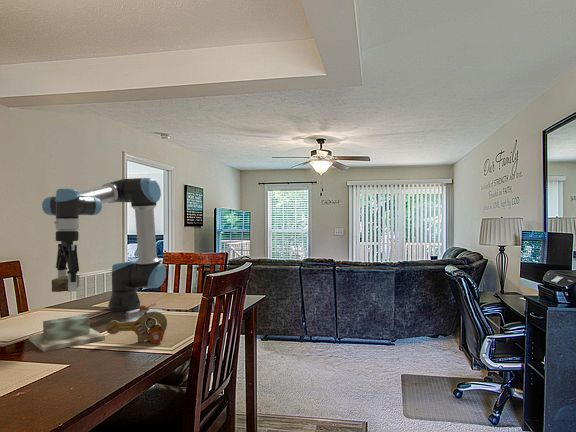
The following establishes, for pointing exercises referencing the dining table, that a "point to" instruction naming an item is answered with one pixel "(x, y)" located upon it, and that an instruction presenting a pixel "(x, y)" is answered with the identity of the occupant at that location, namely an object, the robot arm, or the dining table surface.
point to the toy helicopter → (142, 325)
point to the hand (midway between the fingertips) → (67, 289)
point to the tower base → (65, 341)
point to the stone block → (61, 284)
